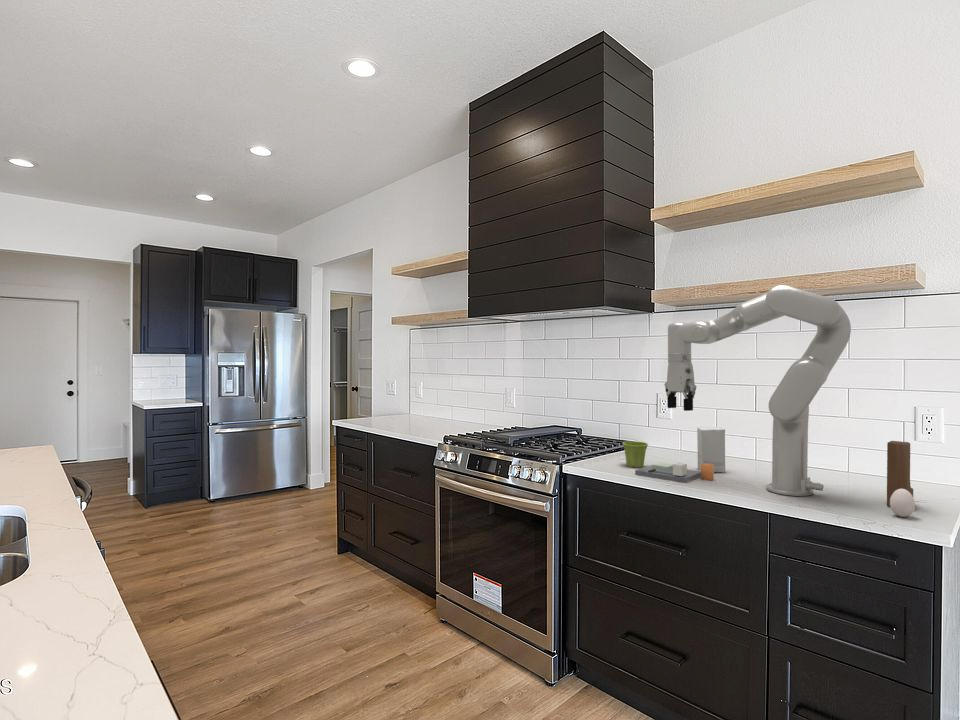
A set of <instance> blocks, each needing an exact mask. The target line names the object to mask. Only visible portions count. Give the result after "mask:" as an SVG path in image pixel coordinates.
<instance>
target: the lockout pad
mask: <svg viewBox="0 0 960 720" xmlns="http://www.w3.org/2000/svg"><path fill="white" fill-rule="evenodd" d="M673 464H674V463H673ZM673 464H672V463H667V462H656V463H653V464H651V465H652V468H659V469H665V470H669V469H672V468H673Z"/></svg>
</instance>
